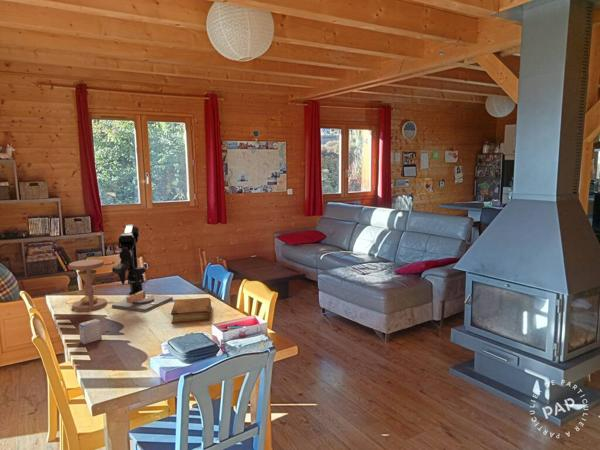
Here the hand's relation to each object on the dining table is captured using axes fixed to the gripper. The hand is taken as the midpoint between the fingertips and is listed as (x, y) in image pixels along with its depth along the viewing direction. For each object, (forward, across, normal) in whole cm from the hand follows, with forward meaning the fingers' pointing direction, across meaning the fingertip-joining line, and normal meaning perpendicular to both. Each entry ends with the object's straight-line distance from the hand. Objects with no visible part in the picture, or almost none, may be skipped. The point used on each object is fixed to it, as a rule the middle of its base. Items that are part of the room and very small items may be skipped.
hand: (129, 285), depth 241 cm
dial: (+11, +2, +4) cm, 12 cm away
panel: (+12, +2, +7) cm, 14 cm away
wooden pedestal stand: (+12, -23, -8) cm, 27 cm away
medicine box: (+13, +18, -44) cm, 49 cm away
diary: (+13, +40, +1) cm, 42 cm away
